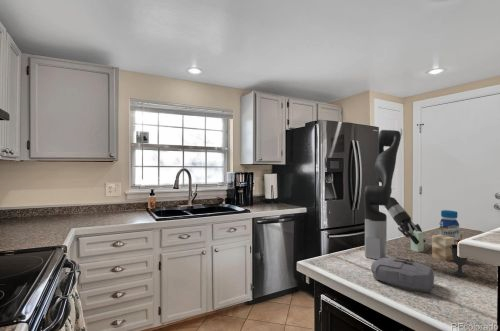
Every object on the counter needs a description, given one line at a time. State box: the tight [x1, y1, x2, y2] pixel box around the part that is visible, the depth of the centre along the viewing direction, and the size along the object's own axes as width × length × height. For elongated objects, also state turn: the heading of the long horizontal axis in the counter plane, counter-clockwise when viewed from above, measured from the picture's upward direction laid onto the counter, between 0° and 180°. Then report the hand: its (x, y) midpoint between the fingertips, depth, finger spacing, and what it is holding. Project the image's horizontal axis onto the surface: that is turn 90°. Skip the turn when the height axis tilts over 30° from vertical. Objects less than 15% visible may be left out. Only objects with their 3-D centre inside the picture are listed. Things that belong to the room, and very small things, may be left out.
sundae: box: [450, 234, 469, 278], centre depth 104 cm, size 7×7×15 cm
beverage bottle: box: [438, 209, 461, 242], centre depth 136 cm, size 8×8×20 cm
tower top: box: [431, 234, 454, 250], centre depth 123 cm, size 6×6×5 cm
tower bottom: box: [431, 246, 454, 262], centre depth 123 cm, size 6×6×5 cm
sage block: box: [410, 230, 425, 253], centre depth 135 cm, size 4×4×10 cm
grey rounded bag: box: [370, 256, 435, 293], centre depth 96 cm, size 15×8×20 cm
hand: (420, 242), depth 133 cm, fingers closed on sage block, 4 cm apart
